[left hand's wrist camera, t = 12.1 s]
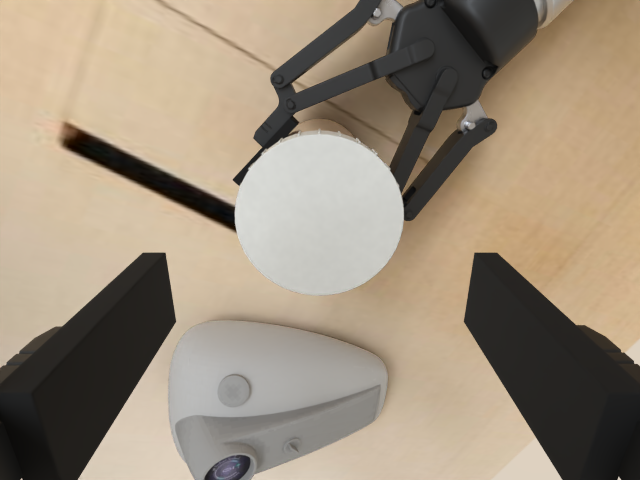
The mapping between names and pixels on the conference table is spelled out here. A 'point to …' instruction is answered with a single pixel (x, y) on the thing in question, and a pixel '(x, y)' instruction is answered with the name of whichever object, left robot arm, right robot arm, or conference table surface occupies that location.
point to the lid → (319, 213)
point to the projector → (266, 395)
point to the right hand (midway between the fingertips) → (279, 215)
